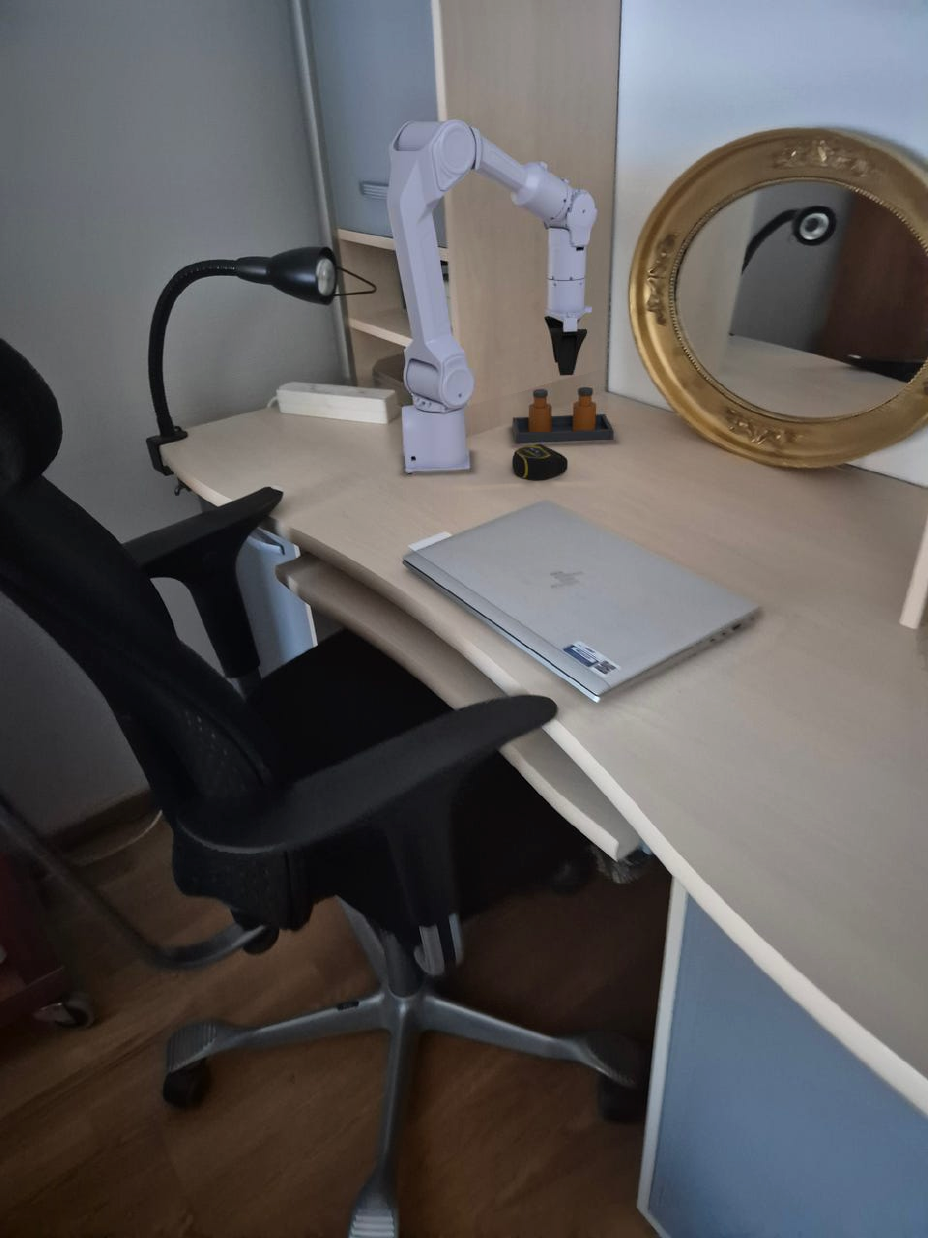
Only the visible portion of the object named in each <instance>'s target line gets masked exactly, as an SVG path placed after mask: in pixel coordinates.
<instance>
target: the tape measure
mask: <svg viewBox="0 0 928 1238" xmlns="http://www.w3.org/2000/svg"><path fill="white" fill-rule="evenodd" d="M568 461H569V460H568V458H567V457H566V456H565V455H563V454H562V453H560V452H558V451H556V450H554V449H552V448H551V447H548V446H546V445H544V444H543V443H536V444H534V445H525V446H524V445H523V446H521V447H519V448H518V449H517V448H516V450H515V451H514V453H513V456H512V461H511V465H512V470H513V472H514V474H515V475H516V476H518V477H520V478H522V479H526V480H530V481H545V480H550V479H552V478H554V477H556V476H558V475H562V474H563V473H565V472H566V471H567V470H568V467H569V466H568V465H569V462H568Z"/></svg>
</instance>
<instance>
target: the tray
mask: <svg viewBox="0 0 928 1238" xmlns="http://www.w3.org/2000/svg"><path fill="white" fill-rule="evenodd" d="M512 430H513V435H514V441H515V444H518V445H519V444H543V443H569V442H571V443H572V442H591V441H593V442H594V441H597V442H598V441H613V440H614V429H613V427H612V424H611V423H610V421H609V418H608V417H607V415H606V413H596V422H595V430H579V431H572V430H573V414H568V415H567V414H566V415H551V432H529V416H519V417H518V416H517V417H516V416H515V417H512Z"/></svg>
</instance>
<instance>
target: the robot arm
mask: <svg viewBox="0 0 928 1238" xmlns="http://www.w3.org/2000/svg"><path fill="white" fill-rule="evenodd" d="M388 153H389V159H390V163H391V168H390V175H389V182H388V186H387V194H386V207H387V211H388V217H389V222H390V228H391V233H392V239H393V245H394V249H395V255H396V259H397V265H398V270H399V275H400V281H401V285H402V291H403V296H404V301H405V306H406V312H407V317H408V322H409V328H410V333H411V338H412V340H411V342H410V343H409V344H408V345H407V346H406V347H405V348H404V350H403V353H404V361H405V362H404V364H405V365H404V370H403V383H404V385H405V388H406V390H407V391H408V392H409V393H410V394H411V395H412V401H413V403H414V404H412V405H404V406H402V408H401V409H402V410H401V425H402V428H401V429H402V440H403V444H402V455H403V457H404V464H405V465H404V466H405V469H404V470H405V473H406V474H412V473H413V472H426V471H428V472H429V471H454V470H457V471H458V470H469V469H471V463H470V462H471V461H470V449H468V448H467V427H466V408H467V407H468V402H469V401H470V399H471V397H473V393H474V391H475V386H476V379H475V374H474V372H473V370H472V369H471V367H470V365H469V364H468V362H467V358H466V351H465V350H464V348H463V347H462V346H461V345H460V343H459V342H458V341H457V339H456V338H455V337H454V335H453V332H452V326H451V320H450V315H449V307H448V303H447V295H446V289H445V283H444V276H443V271H442V265H441V259H440V252H439V245H438V240H437V232H436V227H435V221H434V214H433V213H434V210H435V208H436V206H437V205H438V203H439V202H440V200H441V198H442V197H443V196H445V195H446V194H447V193H448V192H449V191H450V190H452V188H454V186H455V185H456V184H458V183H459V182H460V181H461V180H462V179H463V178H464V177H466V176H467V174H468V173H469V172H470V171H472V172H474V173H476V174H478V175H480V176H482V177H484V178H485V179H488V180H489V181H491V182H493V183H495V184H497V185H499V186H501V187H502V188H505V189H507V190H509V197H510V200H511V202H512V203H513V204H514V205H515V206H517V207H518V208H520V209H522V210H523V211H525V212H527V213H529V214H531V215H533V216H534V217H535V218H537V219H539V221H540V224H541V226H542V227H543V229H545V230H547V283H546V284H547V285H546V286H547V287H546V288H547V289H546V308H545V315H546V316H544V318H543V319H544V321H545V323H546V325H547V328H548V331H549V336H550V340H551V347H552V353H553V359H554V363H555V364H556V363H557V369H558V373H559V376H560V377H561V376H563V377H564V376H574V373H575V371H576V366H577V362H578V357H579V354H580V350H581V347H582V345H583V343H584V340H585V339H586V337H587V335H588V329H587V328H578V325H579V323H580V320H581V318H582V317H583V316H584V315H585V314H591V313H592V312H593V307H592V306H591V305H585V293H586V271H587V270H586V269H587V249H588V248H587V247H588V246H587V245H588V244H589V242H590V241H591V231H592V228H593V226H594V224H595V222H596V219H597V216H598V208H596V205H595V204H596V203H595V201H594V199H593V198H594V197H592V195H591V194H590V192H588V190H586V189H584V188H573V187H572V186H571V185H570V180H568V178H565V177H557V176H556V175H555V174H553V173H552V172H550V171H549V170H548V167H549V165H548V164H547V163H545V162H544V161H534V162H533V161H530V162H527V163H525V164H523V165H522V164H521V163H519V161H517V160H516V159H514V158H513V157H512V156H510V155H508V154H507V152H505V151H503V150H502V149H501V148H500V147H498V146H497V145H495V144H494V143H493V142H491V141H490V140H489V139H487V138H486V137H485V136H483V135H482V134H481V131H480V130H479V129H478V128H475V127H473V126H469V125H467V123H465V121H462V120H460V119H457V118H456V119H455V118H453V119H447V120H438V121H437V120H436V121H434V120H433V121H419V120H410V121H407V122H405V123H403V124H402V126H401V127H400V128H399V129H398V131H397V132H396V134H395V136H394V137H393V139H392V140H391V142H390V144H389V145H388Z"/></svg>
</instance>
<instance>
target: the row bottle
mask: <svg viewBox="0 0 928 1238" xmlns="http://www.w3.org/2000/svg"><path fill="white" fill-rule="evenodd" d="M548 392H549V391H548V390H547V389H545V388H536V389H533V391H532V397H533V403H530V404H529V405H528V417H529V432H551V416H552V405H551V404H550V403H548V402H547V401H548V400H547V399H548V398H547V397H548V394H549V393H548Z"/></svg>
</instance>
